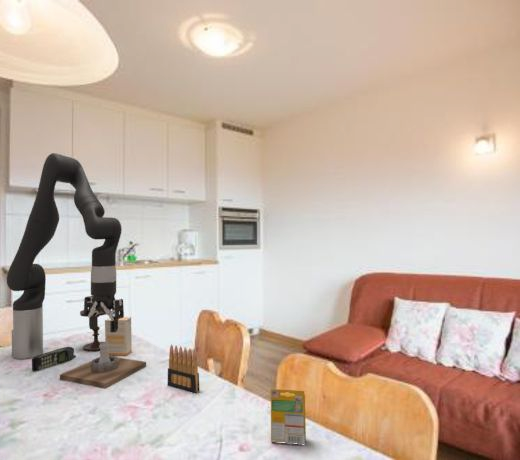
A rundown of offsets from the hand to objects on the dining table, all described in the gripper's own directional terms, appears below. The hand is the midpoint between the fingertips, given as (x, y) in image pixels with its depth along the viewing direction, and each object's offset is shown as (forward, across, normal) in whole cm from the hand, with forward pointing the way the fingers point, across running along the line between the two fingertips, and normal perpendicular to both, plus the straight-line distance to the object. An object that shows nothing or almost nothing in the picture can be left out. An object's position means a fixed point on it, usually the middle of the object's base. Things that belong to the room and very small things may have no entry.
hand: (103, 330), depth 117 cm
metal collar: (+12, 0, 0) cm, 12 cm away
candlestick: (+14, -22, +18) cm, 32 cm away
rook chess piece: (+12, 0, 0) cm, 12 cm away
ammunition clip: (+13, +30, 0) cm, 33 cm away
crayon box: (+13, +66, -14) cm, 69 cm away
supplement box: (+14, -9, +16) cm, 23 cm away
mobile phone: (+14, -21, 0) cm, 26 cm away
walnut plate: (+14, 0, 0) cm, 14 cm away
